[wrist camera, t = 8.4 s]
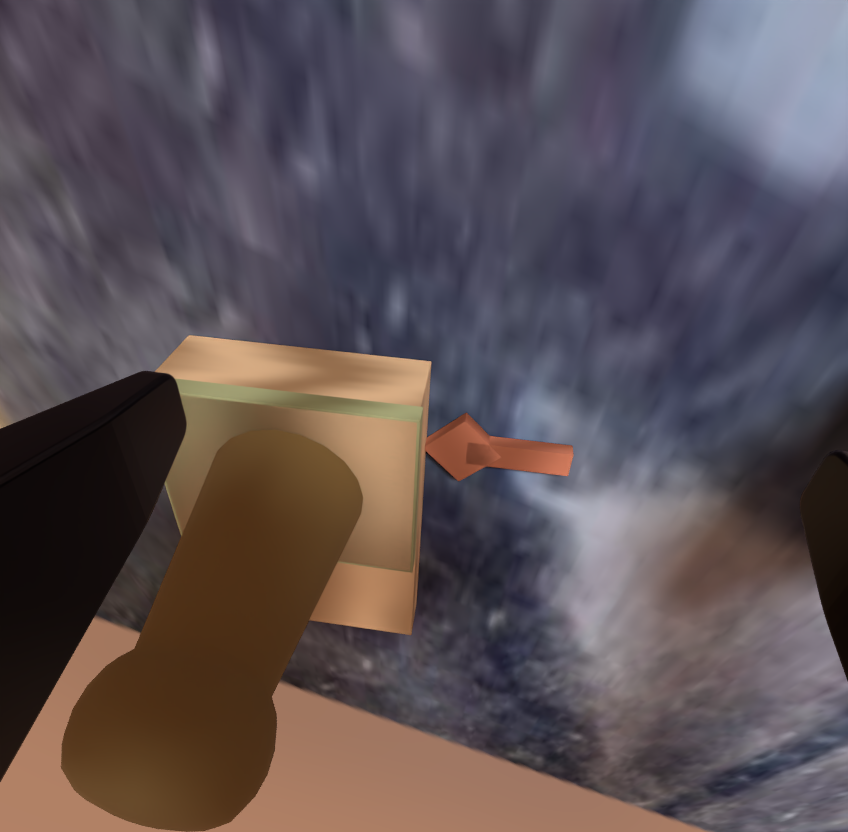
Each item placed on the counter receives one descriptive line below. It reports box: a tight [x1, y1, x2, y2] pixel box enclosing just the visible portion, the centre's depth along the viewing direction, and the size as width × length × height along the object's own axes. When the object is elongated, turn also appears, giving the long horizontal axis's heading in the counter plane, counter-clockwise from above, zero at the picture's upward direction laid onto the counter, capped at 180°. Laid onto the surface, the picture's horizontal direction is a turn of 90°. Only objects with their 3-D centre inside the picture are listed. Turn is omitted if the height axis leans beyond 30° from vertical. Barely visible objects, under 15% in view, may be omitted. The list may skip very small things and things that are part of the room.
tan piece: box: [155, 335, 573, 635], centre depth 26 cm, size 16×16×4 cm
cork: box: [61, 430, 363, 832], centre depth 18 cm, size 6×6×11 cm
